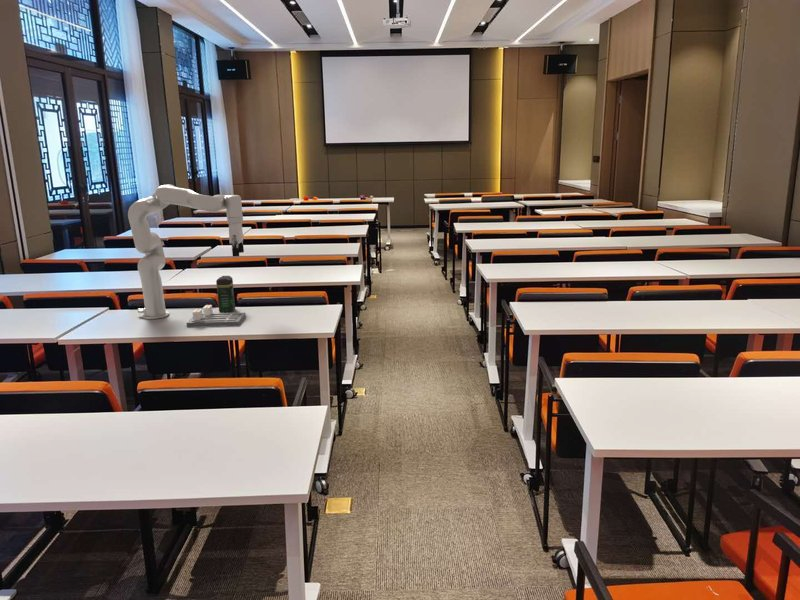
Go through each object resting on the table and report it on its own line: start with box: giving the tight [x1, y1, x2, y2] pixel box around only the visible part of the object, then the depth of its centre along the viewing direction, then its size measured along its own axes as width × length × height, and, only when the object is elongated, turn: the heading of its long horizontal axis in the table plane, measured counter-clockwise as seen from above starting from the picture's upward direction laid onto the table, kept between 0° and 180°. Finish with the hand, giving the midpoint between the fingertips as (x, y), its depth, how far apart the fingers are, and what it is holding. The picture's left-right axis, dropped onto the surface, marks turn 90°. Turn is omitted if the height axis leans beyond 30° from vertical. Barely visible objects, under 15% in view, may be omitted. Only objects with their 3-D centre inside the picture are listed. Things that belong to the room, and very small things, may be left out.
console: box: [185, 304, 247, 328], centre depth 290 cm, size 25×15×7 cm, turn 92°
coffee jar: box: [215, 275, 236, 313], centre depth 306 cm, size 10×8×19 cm
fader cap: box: [192, 308, 203, 320], centre depth 286 cm, size 3×5×4 cm, turn 2°
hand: (238, 254), depth 295 cm, fingers open, 9 cm apart
